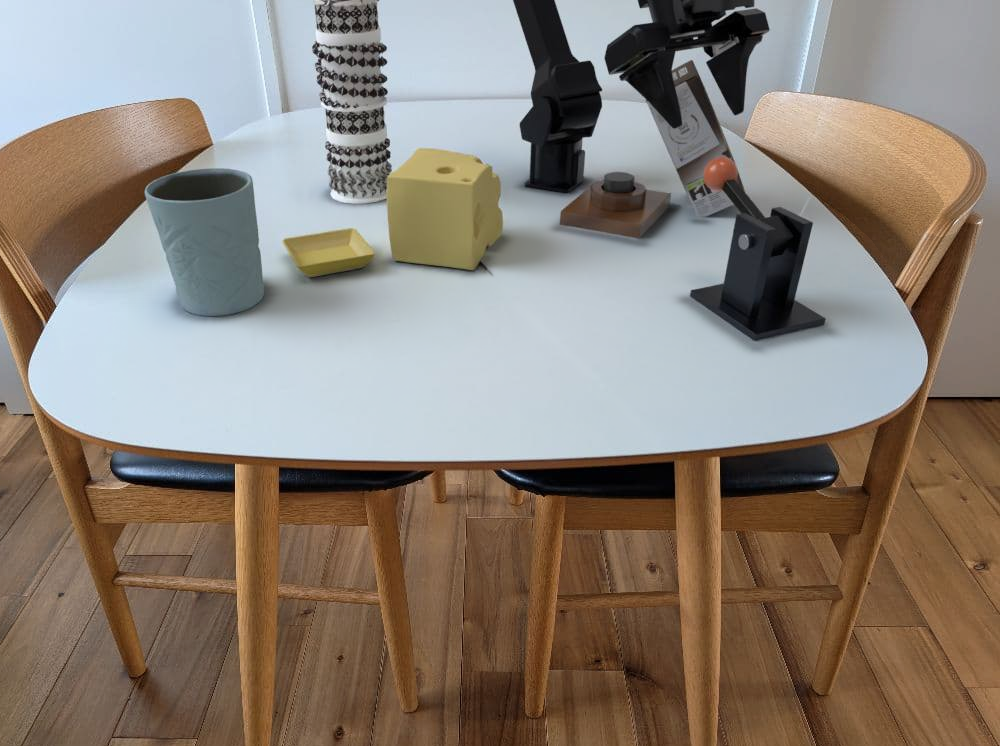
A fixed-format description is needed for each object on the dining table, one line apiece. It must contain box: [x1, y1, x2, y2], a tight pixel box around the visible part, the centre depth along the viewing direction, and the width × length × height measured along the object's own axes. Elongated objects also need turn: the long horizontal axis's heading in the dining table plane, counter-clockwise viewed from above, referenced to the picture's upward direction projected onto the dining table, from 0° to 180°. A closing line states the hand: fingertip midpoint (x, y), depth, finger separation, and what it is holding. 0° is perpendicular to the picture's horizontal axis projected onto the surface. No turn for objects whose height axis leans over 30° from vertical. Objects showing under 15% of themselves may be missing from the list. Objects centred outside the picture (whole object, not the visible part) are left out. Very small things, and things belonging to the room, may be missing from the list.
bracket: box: [689, 206, 827, 342], centre depth 75 cm, size 10×8×10 cm
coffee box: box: [645, 59, 746, 218], centre depth 98 cm, size 9×6×16 cm
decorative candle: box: [311, 0, 393, 205], centre depth 102 cm, size 9×9×25 cm
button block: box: [559, 179, 672, 239], centre depth 99 cm, size 10×12×4 cm
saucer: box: [281, 227, 376, 278], centre depth 89 cm, size 9×9×2 cm
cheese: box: [386, 147, 504, 271], centre depth 90 cm, size 10×11×10 cm
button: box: [603, 171, 636, 194], centre depth 97 cm, size 4×4×2 cm
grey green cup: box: [144, 167, 265, 317], centre depth 80 cm, size 10×10×12 cm
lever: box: [703, 157, 794, 257], centre depth 76 cm, size 12×3×3 cm, turn 21°
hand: (709, 120), depth 85 cm, fingers open, 9 cm apart
